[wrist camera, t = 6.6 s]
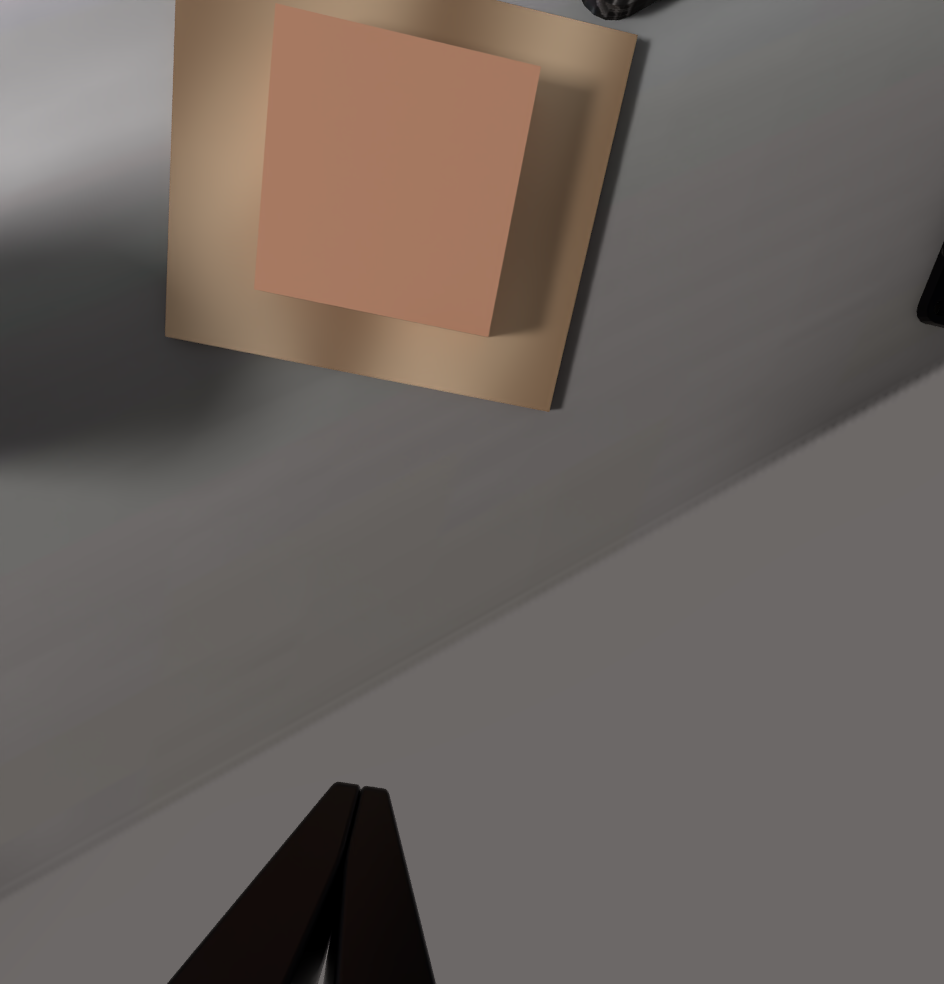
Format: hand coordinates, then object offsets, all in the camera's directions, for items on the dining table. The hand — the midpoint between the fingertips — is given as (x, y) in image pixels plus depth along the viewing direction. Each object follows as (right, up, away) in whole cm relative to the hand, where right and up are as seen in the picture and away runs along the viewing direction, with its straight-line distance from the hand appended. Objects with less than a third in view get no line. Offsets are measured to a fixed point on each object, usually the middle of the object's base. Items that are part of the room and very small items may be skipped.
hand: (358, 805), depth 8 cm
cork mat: (-1, +14, +8) cm, 16 cm away
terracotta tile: (-4, +14, +7) cm, 16 cm away
